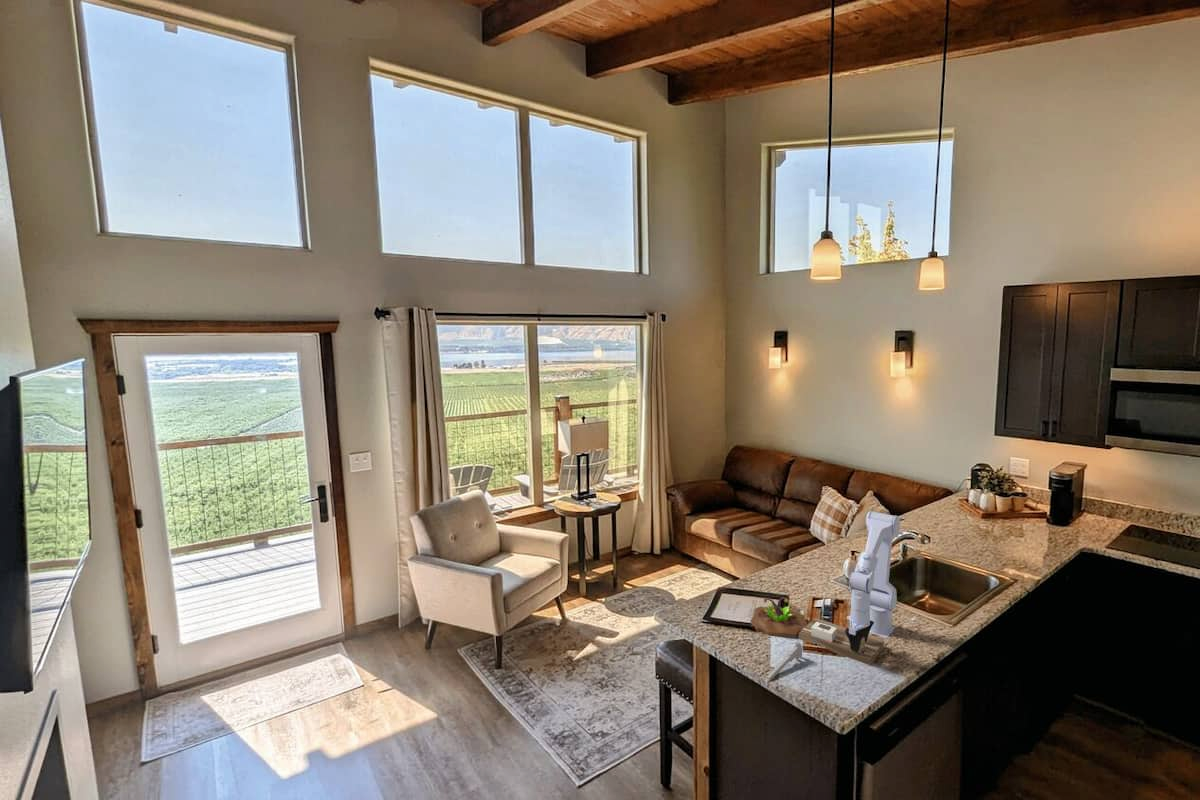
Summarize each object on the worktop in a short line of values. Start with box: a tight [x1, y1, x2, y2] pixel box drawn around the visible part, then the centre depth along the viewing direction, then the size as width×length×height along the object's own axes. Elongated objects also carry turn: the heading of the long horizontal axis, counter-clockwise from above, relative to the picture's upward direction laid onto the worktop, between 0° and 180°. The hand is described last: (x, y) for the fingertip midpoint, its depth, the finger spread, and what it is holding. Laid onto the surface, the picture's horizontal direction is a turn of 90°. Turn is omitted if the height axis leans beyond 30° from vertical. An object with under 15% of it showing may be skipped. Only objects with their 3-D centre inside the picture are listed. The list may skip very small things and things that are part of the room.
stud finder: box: [811, 622, 837, 642], centre depth 197 cm, size 5×7×3 cm
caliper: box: [764, 640, 803, 683], centre depth 181 cm, size 20×1×6 cm, turn 131°
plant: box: [749, 596, 808, 639], centre depth 210 cm, size 20×20×11 cm
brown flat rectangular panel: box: [798, 617, 885, 666], centre depth 197 cm, size 14×24×2 cm, turn 47°
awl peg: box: [859, 637, 865, 653], centre depth 189 cm, size 3×3×6 cm
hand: (858, 646), depth 189 cm, fingers open, 7 cm apart
